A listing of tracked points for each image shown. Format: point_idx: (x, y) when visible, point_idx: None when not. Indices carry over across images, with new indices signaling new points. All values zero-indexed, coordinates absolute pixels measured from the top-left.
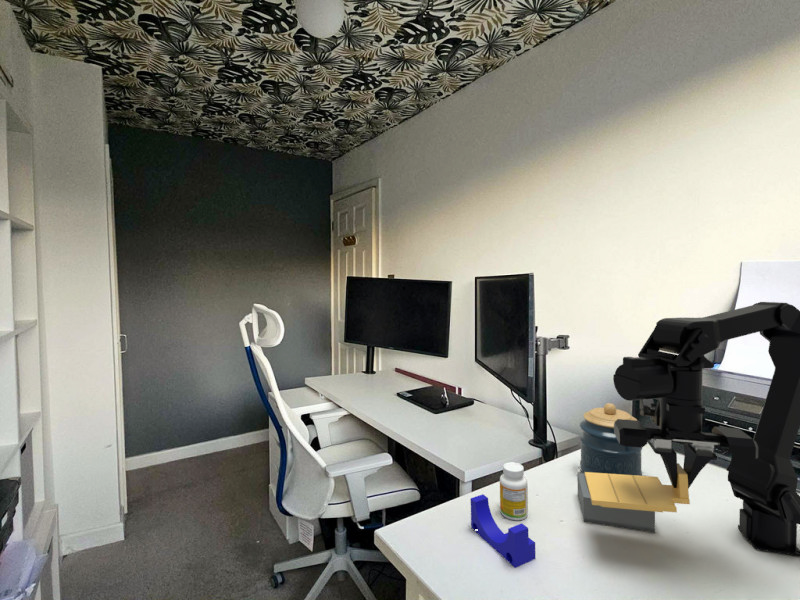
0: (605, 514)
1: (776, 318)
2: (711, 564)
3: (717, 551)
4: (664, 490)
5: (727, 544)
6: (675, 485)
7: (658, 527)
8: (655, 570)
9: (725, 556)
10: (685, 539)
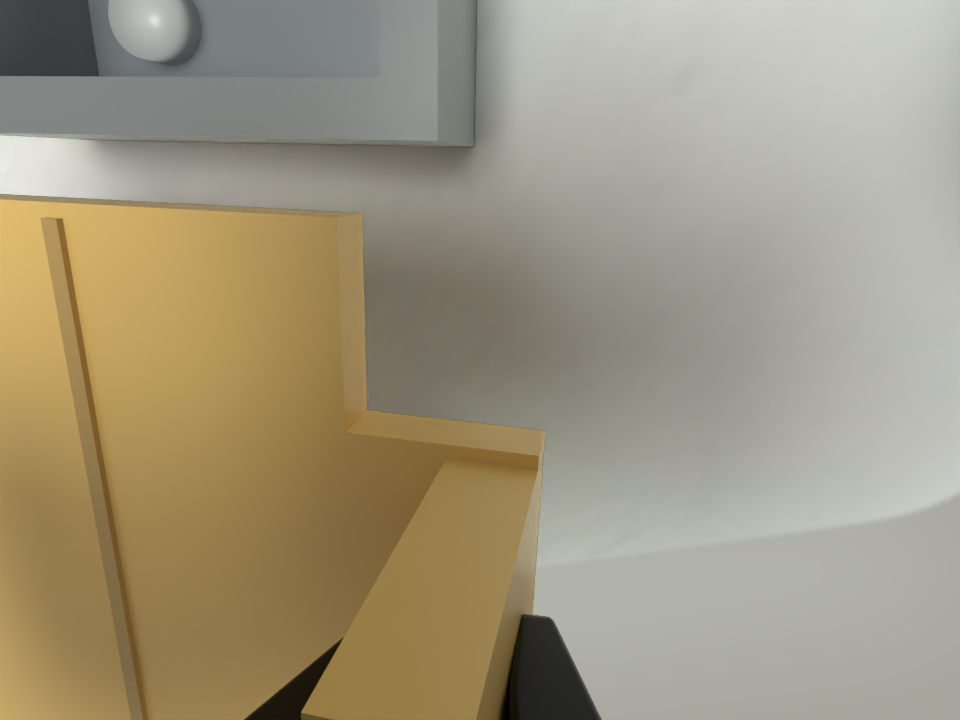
0: (160, 139)
1: None
2: (675, 377)
3: (774, 252)
4: (333, 564)
5: (887, 159)
6: None
7: (516, 68)
8: None
9: (795, 291)
10: (637, 170)
